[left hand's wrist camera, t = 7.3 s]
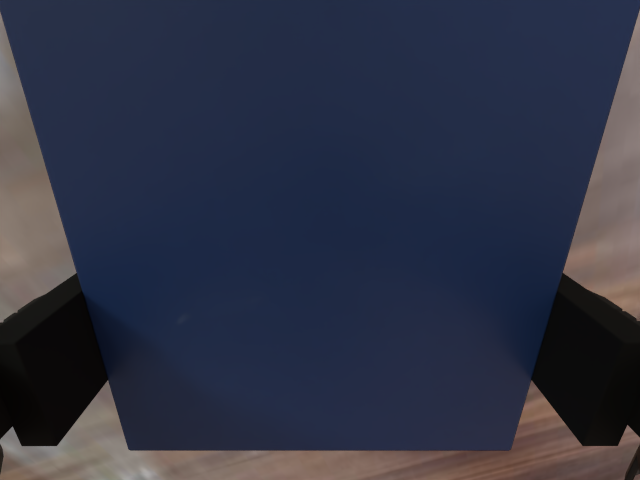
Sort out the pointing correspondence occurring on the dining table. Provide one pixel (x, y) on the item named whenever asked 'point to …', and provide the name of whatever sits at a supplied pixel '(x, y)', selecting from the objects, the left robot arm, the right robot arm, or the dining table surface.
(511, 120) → the cabinet
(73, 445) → the dining table surface
